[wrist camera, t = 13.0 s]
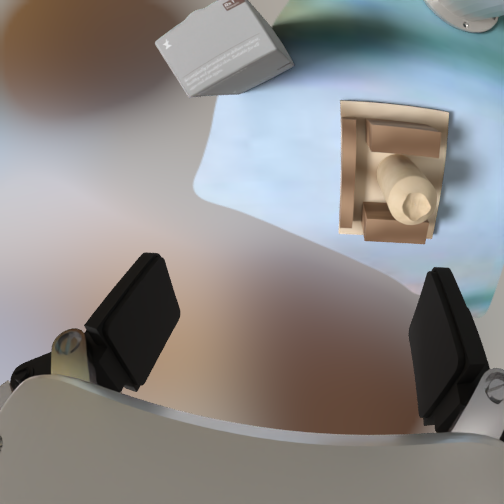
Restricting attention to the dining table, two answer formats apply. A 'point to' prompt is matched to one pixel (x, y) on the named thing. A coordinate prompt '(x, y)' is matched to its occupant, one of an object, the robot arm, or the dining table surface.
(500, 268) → the dining table surface
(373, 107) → the holder
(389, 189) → the candle
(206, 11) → the skincare box
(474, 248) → the dining table surface
